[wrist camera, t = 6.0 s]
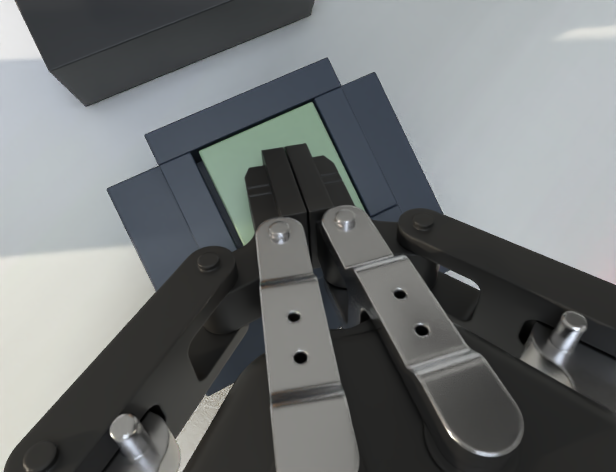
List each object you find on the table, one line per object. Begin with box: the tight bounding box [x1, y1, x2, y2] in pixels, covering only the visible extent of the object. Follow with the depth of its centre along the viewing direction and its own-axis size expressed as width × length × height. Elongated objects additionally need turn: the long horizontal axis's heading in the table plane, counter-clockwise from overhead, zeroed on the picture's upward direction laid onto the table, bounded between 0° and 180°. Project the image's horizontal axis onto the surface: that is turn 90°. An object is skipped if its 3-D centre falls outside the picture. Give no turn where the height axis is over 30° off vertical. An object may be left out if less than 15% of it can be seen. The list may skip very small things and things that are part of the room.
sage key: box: [199, 102, 365, 246], centre depth 17 cm, size 4×4×2 cm
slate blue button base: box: [107, 58, 449, 396], centre depth 19 cm, size 12×10×6 cm
